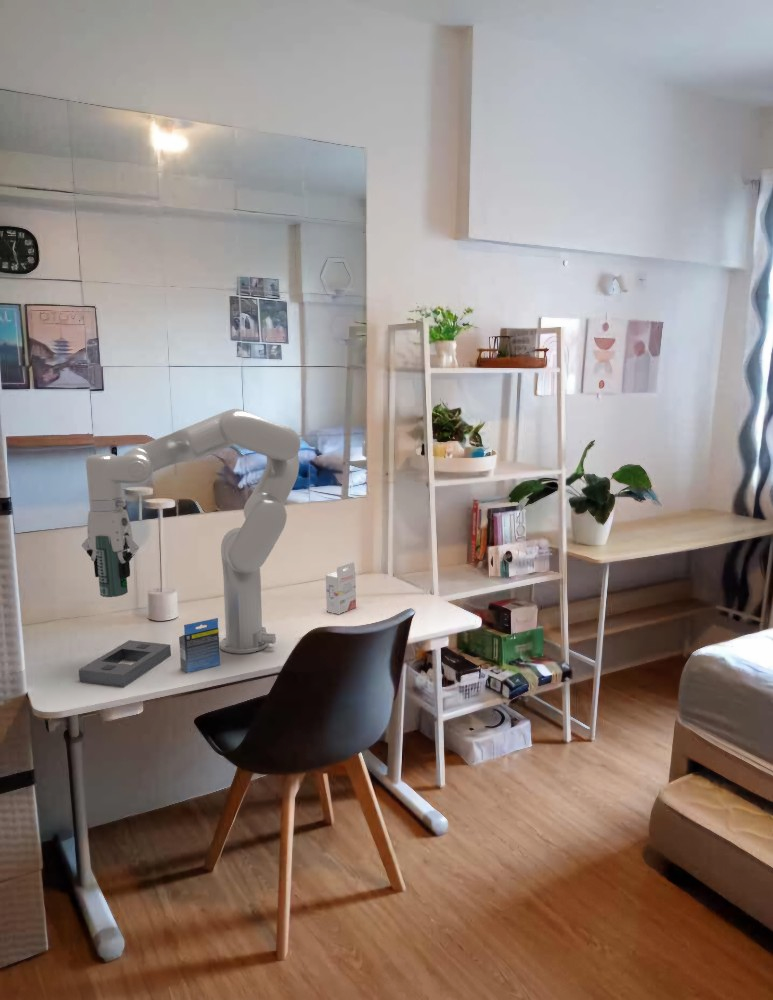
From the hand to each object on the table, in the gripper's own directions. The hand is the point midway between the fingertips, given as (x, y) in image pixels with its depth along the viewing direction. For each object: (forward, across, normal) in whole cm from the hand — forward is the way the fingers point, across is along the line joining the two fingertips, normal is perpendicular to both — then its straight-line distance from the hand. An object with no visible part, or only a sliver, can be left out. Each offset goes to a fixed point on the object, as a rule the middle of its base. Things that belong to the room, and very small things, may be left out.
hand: (112, 576), depth 186 cm
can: (+5, 0, 0) cm, 5 cm away
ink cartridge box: (+24, -38, -54) cm, 71 cm away
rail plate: (+22, -4, +3) cm, 23 cm away
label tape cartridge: (+23, -21, -3) cm, 31 cm away
